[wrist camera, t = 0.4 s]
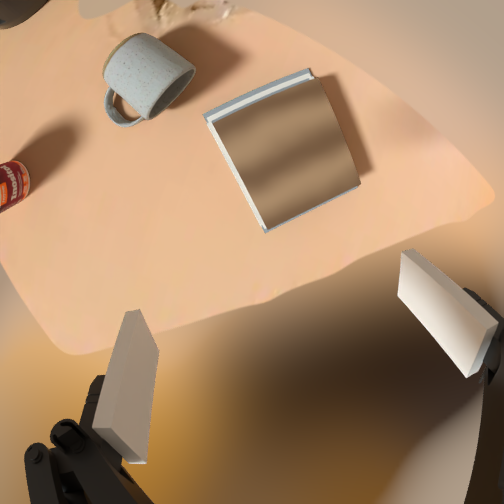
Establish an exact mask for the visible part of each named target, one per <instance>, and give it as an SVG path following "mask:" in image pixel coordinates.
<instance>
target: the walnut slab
mask: <svg viewBox="0 0 504 504" xmlns="http://www.w3.org/2000/svg"><path fill="white" fill-rule="evenodd" d="M212 124H213V126H214V128H215V130H216V132H217V133H218V135H219V137H220V139H221V141H222V143H223V145H224V147H225V148H226V150H227V152H228V154H229V156H230V158H231V160H232V162H233V164H234V166H235V168H236V169H237V171H238V173H239V175H240V177H241V179H242V181H243V183H244V185H245V187H246V189H247V191H248V193H249V195H250V197H251V198H252V200H253V202H254V204H255V206H256V208H257V210H258V212H259V214H260V216H261V218H262V220H263V222H264V224H265V226H266V228H267V230H269V229H271V228H273V227H275V226H277V225H279V224H281V223H283V222H285V221H287V220H289V219H291V218H293V217H295V216H297V215H299V214H301V213H303V212H305V211H307V210H309V209H311V208H313V207H315V206H317V205H319V204H321V203H323V202H325V201H327V200H330V199H332V198H334V197H336V196H338V195H340V194H342V193H344V192H346V191H348V190H350V189H352V188H354V187H356V186H358V185H360V184H361V182H360V179H359V176H358V173H357V170H356V167H355V164H354V162H353V159H352V156H351V154H350V151H349V148H348V146H347V143H346V141H345V138H344V136H343V133H342V131H341V128H340V126H339V123H338V121H337V118H336V116H335V114H334V111H333V109H332V107H331V104H330V102H329V100H328V98H327V95H326V93H325V91H324V89H323V87H322V85H321V82H320V80H319V78H318V77H317V78H314V79H311V80H309V81H306V82H304V83H301V84H298V85H296V86H293V87H291V88H288V89H286V90H283V91H281V92H279V93H276V94H274V95H272V96H269V97H267V98H265V99H262V100H260V101H258V102H256V103H253V104H251V105H249V106H247V107H245V108H243V109H240V110H238V111H236V112H234V113H232V114H230V115H228V116H226V117H224V118H222V119H220V120H218V121H216V122H214V123H212Z"/></svg>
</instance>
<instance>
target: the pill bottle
mask: <svg viewBox="0 0 504 504" xmlns="http://www.w3.org/2000/svg"><path fill="white" fill-rule="evenodd" d="M29 188H30V177H29V173H28V171H27V169H26V167H25V166H24V165H23V164H22V163H21V162H18V161H9V162H6V163H3V164H0V213H2V212H3V211H5V210H7V209H9V208H10V207H12V206H14V205H16V204H18V203H19V202H21V201H22V200H24V198H25V197H26V196H27V194H28V191H29Z"/></svg>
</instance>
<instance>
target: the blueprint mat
mask: <svg viewBox="0 0 504 504" xmlns="http://www.w3.org/2000/svg"><path fill="white" fill-rule="evenodd" d="M311 79H314V77H312V75H311V73H310V71H309V69H308V68H307V69H305V70H302V71H299V72H297V73H294V74H291V75H289V76H286V77H284V78H281V79H279V80H276V81H274V82H271V83H269V84H266V85H264V86H262V87H259V88H257V89H255V90H253V91H250V92H248V93H246V94H244V95H241V96H239V97H237V98H235V99H233V100H231V101H229V102H227V103H225V104H222V105H220V106H218V107H216V108H214V109H212V110H210V111H208V112H206V113H205V114H203V116H204V118H205V120H206V122H207V125H208V127H209V129H210V131H211V133H212V135H213V137H214V138H215V140H216V142H217V144H218V146H219V148H220V150H221V152H222V153H223V155H224V157H225V159H226V161H227V163H228V165H229V167H230V169H231V171H232V172H233V174H234V176H235V178H236V180H237V182H238V184H239V186H240V188H241V190H242V191H243V193H244V195H245V197H246V199H247V201H248V203H249V205H250V207H251V209H252V211H253V213H254V215H255V217H256V218H257V220H258V222H259V224H260V226H262V228H263V230H264V232H265V233H267V232H269V231H271V230H273V229H275V228H277V227H279V226H281V225H283V224H285V223H287V222H289V221H291V220H293V219H295V218H297V217H299V216H301V215H303V214H305V213H307V212H309V211H311V210H313V209H315V208H317V207H319V206H321V205H323V204H325V203H327V202H329V201H331V200H333V199H335V198H337V197H339V196H341V195H343V194H345V193H347V192H349V191H351V190H354V189H356V188H358V186H356V187H354V188H352V189H350V190H348V191H346V192H344V193H342V194H340V195H338V196H336V197H334V198H332V199H330V200H327V201H325V202H323V203H321V204H319V205H317V206H315V207H313V208H311V209H309V210H307V211H305V212H303V213H301V214H299V215H297V216H295V217H293V218H291V219H289V220H287V221H285V222H283V223H281V224H279V225H277V226H275V227H273V228H271V229H269V230H267V228H266V226H265V224H264V222H263V220H262V218H261V216H260V214H259V212H258V210H257V208H256V206H255V204H254V202H253V200H252V198H251V197H250V195H249V193H248V191H247V189H246V187H245V185H244V183H243V181H242V179H241V177H240V175H239V173H238V171H237V169H236V168H235V166H234V164H233V162H232V160H231V158H230V156H229V154H228V152H227V150H226V148H225V147H224V145H223V143H222V141H221V139H220V137H219V135H218V133H217V132H216V130H215V128H214V126H213V124H212V123H214V122H216V121H218V120H220V119H222V118H224V117H226V116H228V115H230V114H232V113H234V112H236V111H238V110H240V109H243V108H245V107H247V106H249V105H251V104H253V103H256V102H258V101H260V100H262V99H265V98H267V97H269V96H272V95H274V94H276V93H279V92H281V91H283V90H286V89H288V88H291V87H293V86H296V85H298V84H301V83H304V82H306V81H309V80H311Z"/></svg>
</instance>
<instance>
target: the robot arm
mask: <svg viewBox="0 0 504 504" xmlns="http://www.w3.org/2000/svg"><path fill="white" fill-rule="evenodd" d="M46 1H47V0H0V29H8V28H11V27H14V26H16V25H18V24H20V23H22V22H23V21H25V20H26V19H28V18H29V17H30V16H32V15H33V14H34V13H35V12H36V11H38V10H39V9H40V8H41V7H42V6H43V5H44V4H45V3H46ZM398 297H399V298H400V299H401V300H402V301H403V302H404V303H405V305H406V306H407V307H408V308H409V309H410V310H411V311H412V313H413V314H414V315H415V316H416V317H417V318H418V319H419V321H420V322H421V323H422V324H423V325H424V326H425V328H426V329H427V330H428V331H429V332H430V333H431V334H432V336H433V337H434V338H435V339H436V341H437V342H438V343H439V344H440V345H441V347H442V348H443V349H444V350H445V352H446V353H447V354H448V355H449V357H450V358H451V359H452V360H453V362H454V363H455V364H456V365H457V367H458V368H459V369H460V370H461V372H462V373H463V374H464V376H465V377H466V378H467V377H469V376H470V375H472V374H473V373H475V372H477V371H478V370H479V368H480V366H481V364H482V362H484V363H485V364H486V365H487V366H486V368H485V370H484V372H483V374H482V376H481V378H480V380H479V383H481V382H482V380H483V378H484V392H483V405H482V415H481V423H480V431H479V438H478V444H477V450H476V456H475V461H474V465H473V470H472V475H471V479H470V483H469V487H468V491H467V494H466V498H465V501H464V504H504V318H502V317H501V316H500V315H499V314H498V313H497V312H496V311H495V310H494V309H493V308H492V307H491V306H490V305H487V303H486V302H485V301H484V300H482V299H481V297H479V296H478V295H477V294H476V293H475V292H473V291H471V290H469V289H467V288H463V289H462V288H461V287H459V286H458V285H457V284H456V283H455V282H454V281H452V280H451V279H450V278H449V277H448V276H447V275H445V274H444V273H443V272H442V271H441V270H439V269H438V268H437V267H436V266H434V265H433V264H432V263H431V262H429V261H428V260H427V259H426V258H425V257H423V256H422V255H421V254H420V253H418V252H417V251H416V250H415V249H409V250H405V251H402V253H401V266H400V278H399V288H398ZM158 356H159V349H158V347H157V345H156V343H155V341H154V339H153V337H152V335H151V332H150V330H149V328H148V326H147V324H146V322H145V319H144V317H143V315H142V313H141V311H140V309H139V310H134V311H128V312H126V313H125V316H124V319H123V322H122V325H121V328H120V331H119V334H118V337H117V340H116V343H115V346H114V349H113V352H112V356H111V359H110V362H109V365H108V369H107V372H106V375H98V376H97V377H96V378H95V379H94V381H93V382H92V383H91V385H90V388H89V392H88V396H87V398H86V404H85V405H84V409H83V412H82V416H81V419H80V423H79V425H78V424H77V423H76V422H75V421H74V420H72V419H63V420H61V421H59V422H58V423H57V424H55V426H54V427H53V429H52V430H51V434H50V440H51V442H52V443H53V444H54V445H55V446H56V447H55V448H51V449H48V448H47V447H46V446H45V445H44V444H42V443H34V444H32V445H30V446H29V448H28V449H27V451H26V452H25V456H24V462H25V470H26V478H27V485H28V490H29V496H30V502H31V504H154V503H153V502H152V501H151V500H150V498H149V497H148V496H147V495H146V494H145V493H144V492H143V490H142V489H141V488H140V487H139V486H138V484H137V483H136V482H135V481H134V479H133V478H132V477H131V476H130V474H129V473H128V472H127V471H126V469H125V468H124V467H123V466H122V465H121V462H122V457H123V458H124V459H125V460H126V461H127V462H128V463H133V464H146V463H147V452H148V440H149V429H150V420H151V410H152V401H153V392H154V385H155V377H156V370H157V364H158Z"/></svg>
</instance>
